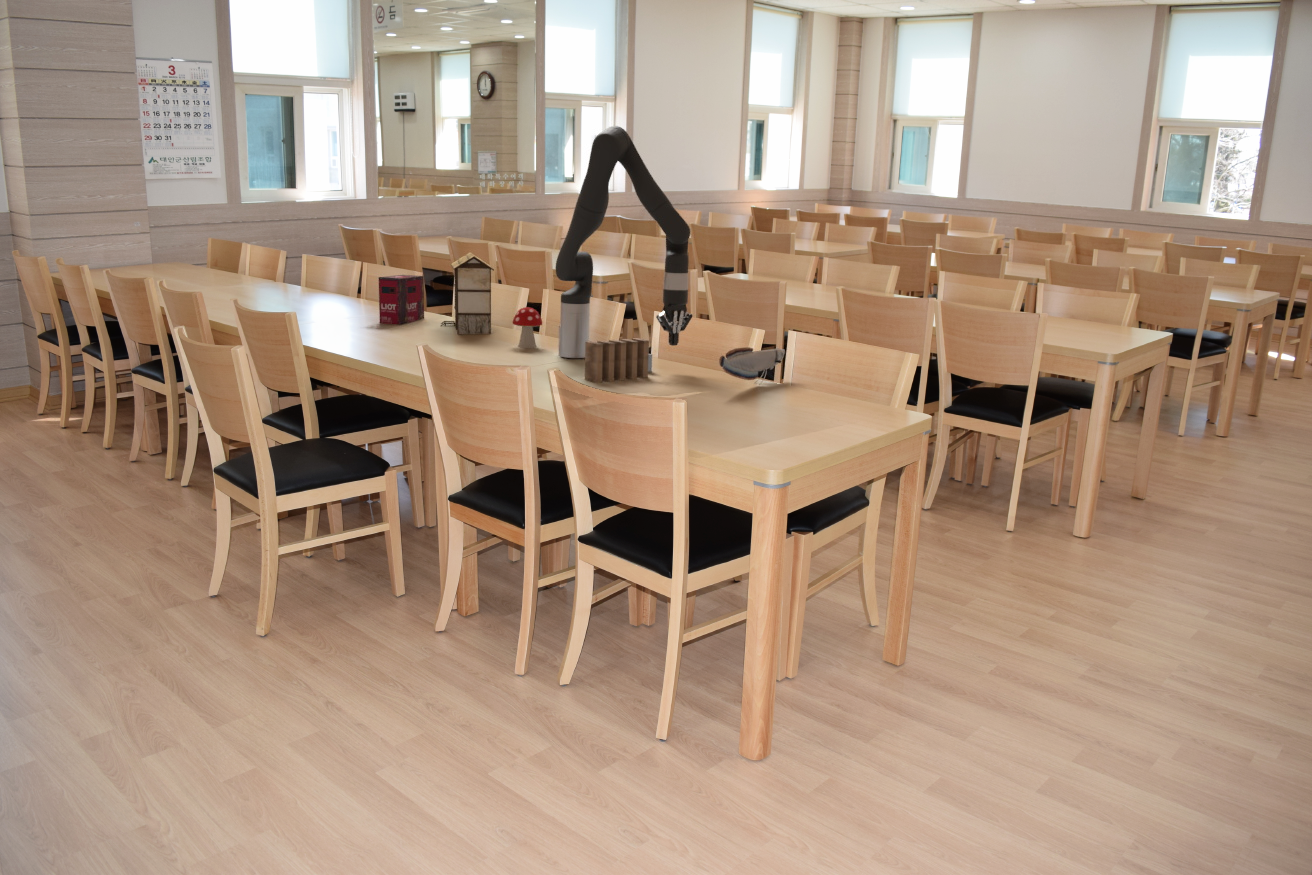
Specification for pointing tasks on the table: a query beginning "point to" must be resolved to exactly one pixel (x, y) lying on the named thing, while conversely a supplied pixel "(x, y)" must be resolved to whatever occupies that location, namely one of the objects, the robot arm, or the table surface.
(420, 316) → the box
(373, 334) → the table surface
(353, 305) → the table surface
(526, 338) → the decorative mushroom
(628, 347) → the tile
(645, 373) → the tile
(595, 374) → the tile
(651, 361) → the slate tile
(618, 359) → the tile
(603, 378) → the tile
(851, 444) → the table surface
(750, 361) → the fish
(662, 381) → the table surface
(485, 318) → the miniature building
